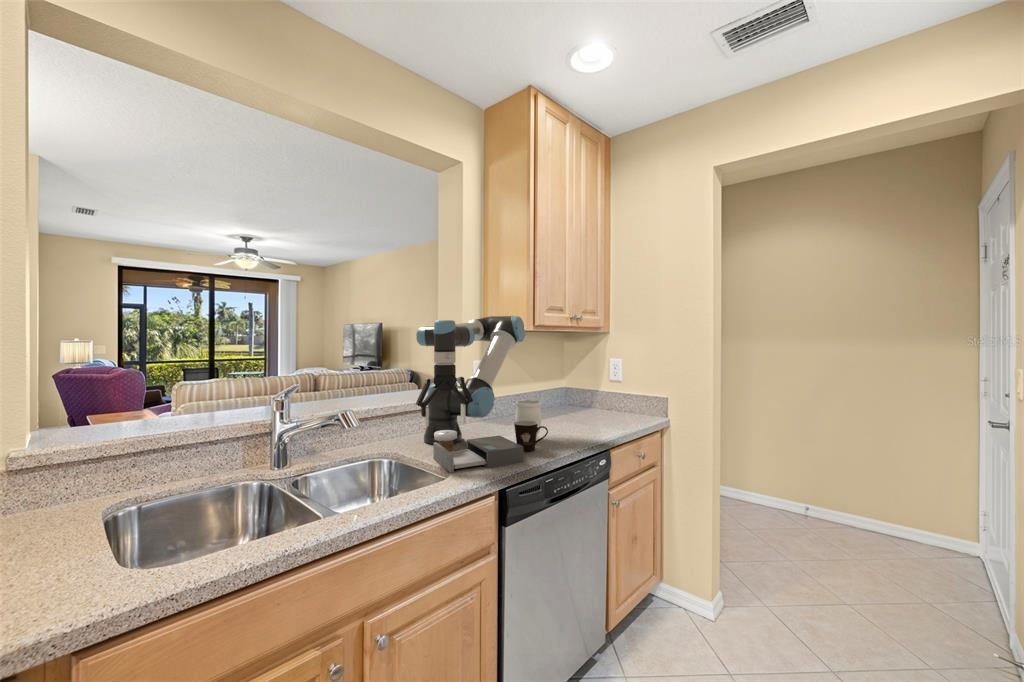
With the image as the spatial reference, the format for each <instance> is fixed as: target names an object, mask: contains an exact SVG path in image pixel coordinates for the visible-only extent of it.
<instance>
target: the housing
mask: <svg viewBox="0 0 1024 682" xmlns="http://www.w3.org/2000/svg"><path fill="white" fill-rule="evenodd" d="M466 449H469V450H471V451H472V452H474V453H475V454H477V455H479V456H480V457H482V458H483V459H485V460H486V464H483V466H484V467H486V468H495V467H501V466H508V465H512V464H513V465H514V464H520V463H524V452H523V446H521V445H519V444H517V442H516V441H513V440H511V439H508V438H506V437H504V436H503V435H500V434H499V435H494V436H484V437H478V438H470V439H469V438H468V439H466Z"/></svg>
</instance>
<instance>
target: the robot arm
mask: <svg viewBox="0 0 1024 682" xmlns="http://www.w3.org/2000/svg"><path fill="white" fill-rule="evenodd" d="M524 327H525V324H524V320H523V319H522V318H521V317H520V316H518V315H509V316H508V315H505V316H504V315H503V316H501V315H499V316H494V315H492V316H485V317H480V318H476V319H471V320H469V321H468V322H461V323H456V321H455V320H453V319H452V320H451V319H437V320H435V321H434V324H433V326H428V325H427V326H420V327H419V328H418V329H417V331H416V334H415V335H416V342H417V344H418V345H419V346H421V347H433V348H434V349H433V363H434V365H433V370H434V371H433V378H428V377H427V378H425V379H424V385H423V387H422V390H421V391H420V393H419V395H418V397H417V399H416V402H415V405H416V406H418V407H420V411H421V413H420V414H421V417H422V418H423V425H424V427H425V431H424V433H423V443H425V444H429V445H433V443H435V442H437V443H438V444H439V441H438V440H435V439H434V433H435V432H436V431H441V430H453V431H457V439H455V440H453V444H456V443H459V442H461V441H462V439H463V434H462V431H461V427H460V425H459V422H458V417H460V422H461V423H463V424H466V419H467V418H466V417H468V418H473V419H475V418H476V419H477V418H479V419H481V418H482V419H483V418H485V417H488V416H489V414H490V413H491V412H492V411H493V408H494V406H495V405H494V404H495V393H494V390H493V384H494V382H495V381H496V378H497V376H498V374H499V372H500V370H501V368H502V365H503V363H504V361H505V359H506V357H507V355H508V353H509V351H511V350H513V349H514V348H515V347H516V344H517V343H522V342H523V341H524V340H525V336H526V330H525V329H526V328H525V329H524ZM480 341H481V342H490V343H489V345H488V347H487V349H486V351H485V352H484V354H483V356H482V358H481V360H480V361H479V364H478V366H477V368H476V369H475V372H474V373H473V375H472V376H471V377H468V378H467V379H466V380H465V377H464V376H459V377H456V375H457V374H456V372H457V371H456V366H457V365H456V364H455V363H456V361H457V360H456V357H457V355H456V347H461V348H462V347H464V348H465V347H469V346H471V345H472V344H473V343H474V342H480ZM458 384H459V385H458ZM426 395H427V396H426Z"/></svg>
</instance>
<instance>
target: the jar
mask: <svg viewBox="0 0 1024 682" xmlns="http://www.w3.org/2000/svg"><path fill="white" fill-rule="evenodd" d="M515 406H516V410H515V422H517V421H535V422H537V423H538V425H537V428H538V427H541V426H542V409H541V406H542V402H541V401H537V400H518V401H516V402H515ZM540 431H541V428H540V429H539V430H538V432H537V434H536V441H537V440H539V439H540V437H539V434H540Z"/></svg>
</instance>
